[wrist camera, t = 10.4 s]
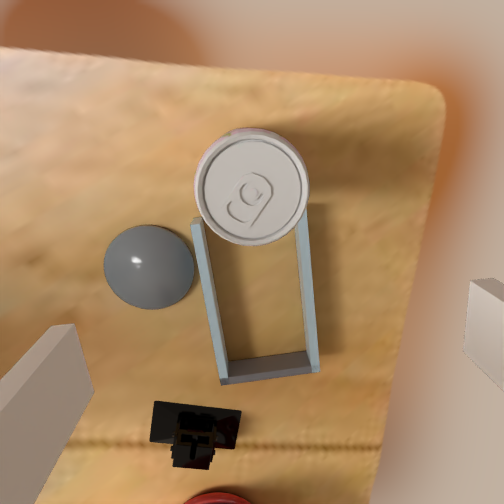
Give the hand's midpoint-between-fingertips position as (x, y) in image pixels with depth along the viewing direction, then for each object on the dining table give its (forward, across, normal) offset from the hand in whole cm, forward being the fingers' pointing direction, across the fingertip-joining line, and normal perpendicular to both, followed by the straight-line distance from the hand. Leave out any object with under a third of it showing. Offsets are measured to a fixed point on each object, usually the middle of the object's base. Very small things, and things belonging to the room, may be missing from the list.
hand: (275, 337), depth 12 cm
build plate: (+22, -8, -23) cm, 33 cm away
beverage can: (+21, 0, +4) cm, 22 cm away
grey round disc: (+21, -10, -4) cm, 24 cm away
